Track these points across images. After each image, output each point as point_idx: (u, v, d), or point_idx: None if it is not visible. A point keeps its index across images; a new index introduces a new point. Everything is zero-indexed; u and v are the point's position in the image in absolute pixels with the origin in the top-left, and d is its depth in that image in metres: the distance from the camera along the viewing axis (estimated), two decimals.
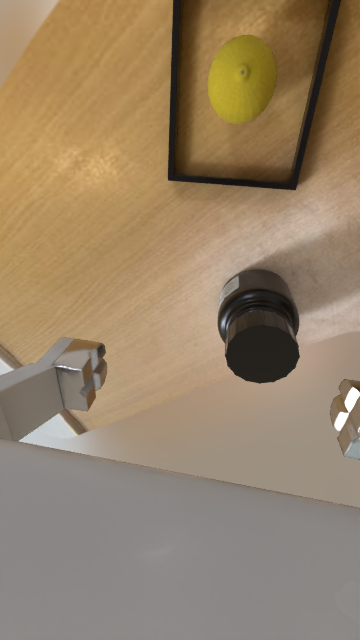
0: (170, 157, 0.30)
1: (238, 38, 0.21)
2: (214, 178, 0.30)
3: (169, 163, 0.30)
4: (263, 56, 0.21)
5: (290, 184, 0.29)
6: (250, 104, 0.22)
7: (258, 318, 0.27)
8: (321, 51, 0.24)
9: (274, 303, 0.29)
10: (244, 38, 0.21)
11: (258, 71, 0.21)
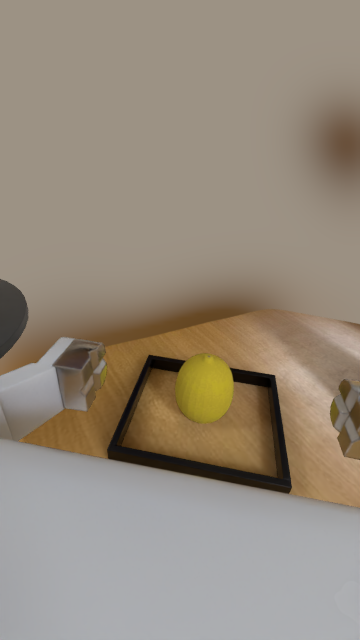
0: (264, 479, 0.23)
1: (182, 371, 0.26)
2: (278, 434, 0.27)
3: (271, 482, 0.23)
4: None
5: (271, 378, 0.33)
6: None
7: None
8: None
9: None
10: (183, 366, 0.27)
11: None
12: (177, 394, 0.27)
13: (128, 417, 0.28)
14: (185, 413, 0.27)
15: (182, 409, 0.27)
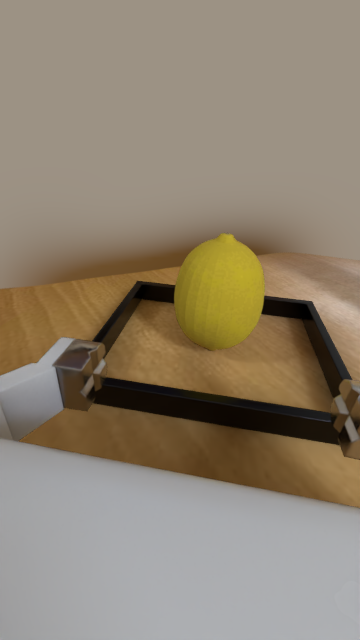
0: (327, 417, 0.14)
1: (185, 262, 0.17)
2: (334, 361, 0.17)
3: None
4: None
5: (307, 304, 0.24)
6: None
7: None
8: None
9: None
10: (187, 256, 0.17)
11: None
12: (178, 300, 0.17)
13: (103, 342, 0.18)
14: (190, 330, 0.17)
15: (186, 324, 0.17)
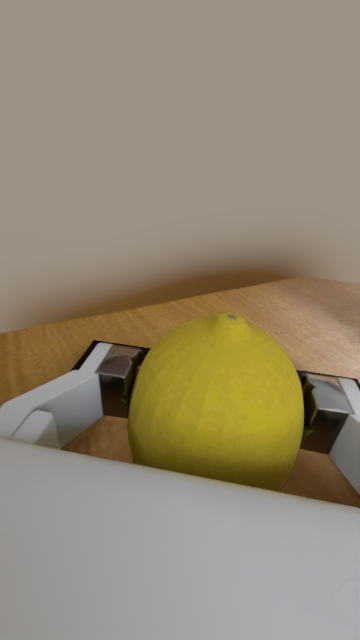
0: None
1: (145, 367, 0.08)
2: None
3: None
4: None
5: None
6: None
7: None
8: None
9: None
10: (151, 352, 0.09)
11: None
12: (130, 438, 0.09)
13: None
14: None
15: None
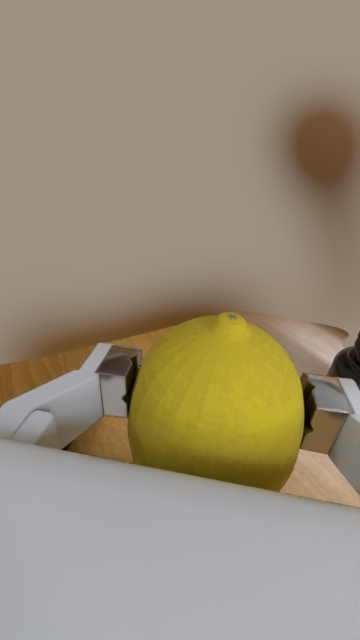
0: None
1: (145, 367, 0.08)
2: None
3: None
4: (194, 319, 0.09)
5: None
6: (280, 345, 0.09)
7: None
8: None
9: (348, 354, 0.28)
10: (151, 352, 0.09)
11: None
12: (131, 438, 0.09)
13: None
14: None
15: None
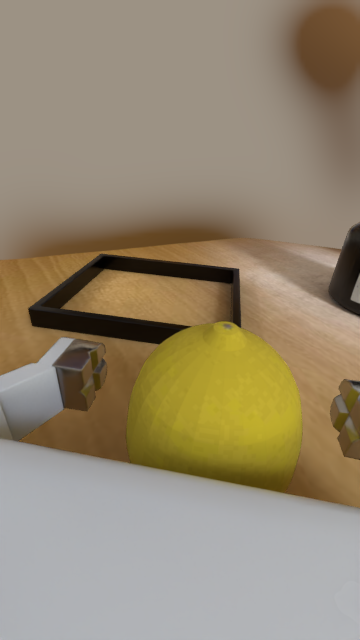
0: None
1: (142, 377, 0.08)
2: (234, 303, 0.23)
3: None
4: None
5: (234, 270, 0.30)
6: (277, 353, 0.09)
7: None
8: (140, 260, 0.31)
9: None
10: (147, 362, 0.09)
11: None
12: (129, 448, 0.09)
13: (62, 291, 0.24)
14: None
15: None
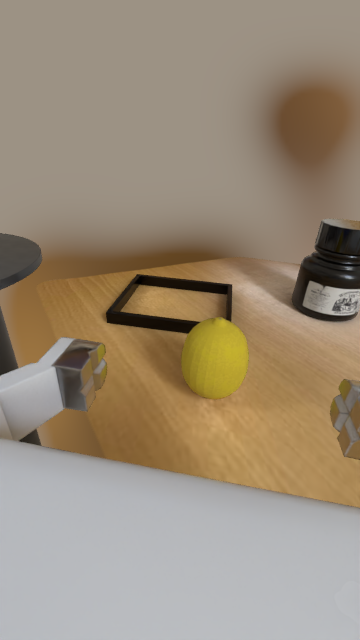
0: None
1: (189, 337, 0.23)
2: (227, 308, 0.38)
3: None
4: (206, 320, 0.24)
5: (228, 285, 0.44)
6: (239, 329, 0.23)
7: (322, 233, 0.37)
8: (164, 279, 0.46)
9: (311, 254, 0.40)
10: (191, 332, 0.23)
11: None
12: (184, 364, 0.23)
13: (121, 301, 0.39)
14: (193, 386, 0.23)
15: (190, 382, 0.23)
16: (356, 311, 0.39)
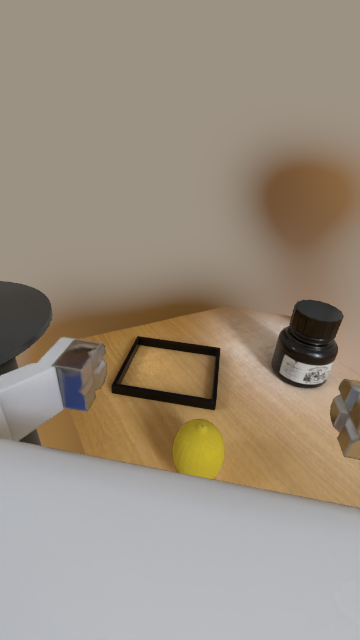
0: (201, 399, 0.41)
1: (178, 438, 0.29)
2: (214, 378, 0.45)
3: (204, 400, 0.41)
4: (192, 420, 0.31)
5: (217, 349, 0.51)
6: (218, 429, 0.30)
7: (295, 317, 0.44)
8: (161, 341, 0.52)
9: (287, 329, 0.47)
10: (180, 433, 0.30)
11: (200, 421, 0.30)
12: (174, 458, 0.30)
13: (123, 370, 0.45)
14: None
15: (179, 471, 0.30)
16: (324, 380, 0.46)
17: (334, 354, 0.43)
